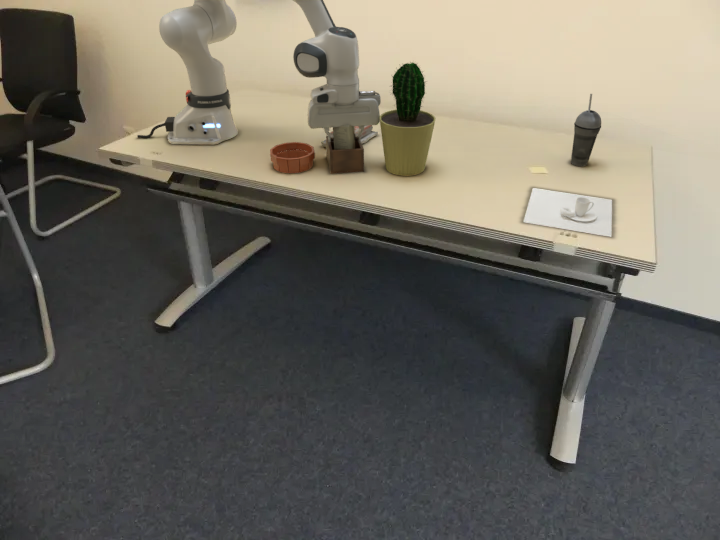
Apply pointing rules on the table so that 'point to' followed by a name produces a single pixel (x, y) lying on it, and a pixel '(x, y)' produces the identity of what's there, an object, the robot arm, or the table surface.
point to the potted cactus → (407, 124)
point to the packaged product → (364, 136)
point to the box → (344, 137)
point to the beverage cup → (585, 135)
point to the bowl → (292, 157)
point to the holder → (345, 158)
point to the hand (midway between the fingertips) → (344, 140)
